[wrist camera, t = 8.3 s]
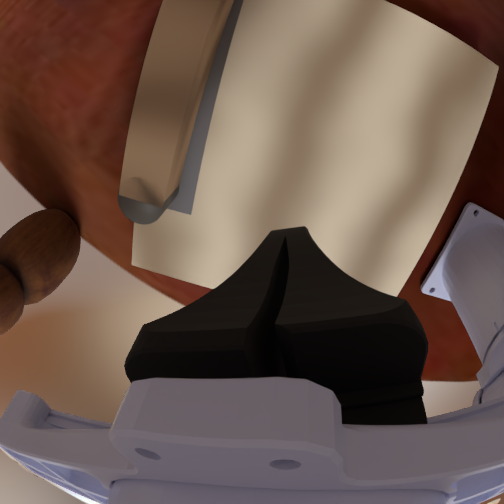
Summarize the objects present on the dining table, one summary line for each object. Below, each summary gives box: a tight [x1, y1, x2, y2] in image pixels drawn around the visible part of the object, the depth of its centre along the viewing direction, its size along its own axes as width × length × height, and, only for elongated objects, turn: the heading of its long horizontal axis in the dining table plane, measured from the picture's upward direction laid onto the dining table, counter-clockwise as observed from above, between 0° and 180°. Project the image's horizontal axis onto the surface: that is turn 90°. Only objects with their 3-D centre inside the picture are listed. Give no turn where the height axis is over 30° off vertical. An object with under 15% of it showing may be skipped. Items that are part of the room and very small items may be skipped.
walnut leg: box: [118, 0, 234, 225], centre depth 13 cm, size 14×3×2 cm, turn 163°
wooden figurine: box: [0, 209, 81, 335], centre depth 17 cm, size 7×6×15 cm
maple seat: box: [132, 0, 499, 297], centre depth 17 cm, size 18×20×3 cm
